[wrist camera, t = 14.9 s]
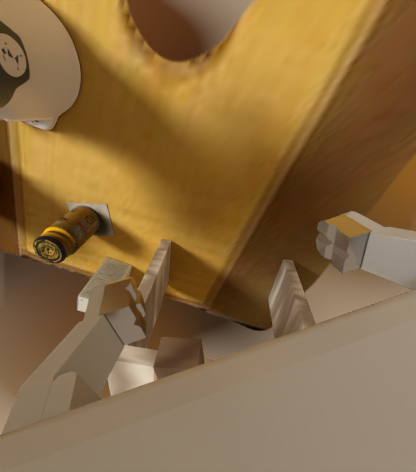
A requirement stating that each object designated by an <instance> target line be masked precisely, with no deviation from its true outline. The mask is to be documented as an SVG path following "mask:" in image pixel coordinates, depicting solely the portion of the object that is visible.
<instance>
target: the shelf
mask: <svg viewBox="0 0 416 472" xmlns="http://www.w3.org/2000/svg"><path fill="white" fill-rule="evenodd" d="M170 254H171V240H165V239H162V240H161V242H160V244H159V246H158V248H157V250H156V252H155V254H154V256H153V259H152V261H151V263H150V265H149V267H148V269H147V271H146V273H145V275H144V277H143V279H142V281H141V283H140V285H139V287H138V289H137V290H139V291H141V294H142V296H143V299H144V303H145V309H146V314H145V316H144V317H143V318H144V320H145V322H146V338H144V339H141V340H138V341H135V342H132V343H130V344H127V345H124V348H123V350H122V352H121V354H120V356H119V358H118V360H117V362H116V363H115V365H114V367H113V369H112V371H111V373H110V375H109V377H108V383H109V388H110V393H111V396H113V395H116V394H119V393H121V392H124V391H127V390H130V389H133V388H136V387H138V386H141V385H144V384H147V383H150V382H153V381H156V380H157V377H156V374H155V371H154V368H153V366H154V362H155V359H156V355H157V352H158V350H152V349H146V348H147V345H148V342H149V339H150V336H151V333H152V330H153V327H154V324H155V321H156V318H157V315H158V313H159V310H160V307H161V304H162V301H163V298H164V295H165V292H166V289H167V286H168V283H169V271H170ZM268 301H269V307H270V313H271V319H272V325H273V330H274V336H275V339H276V338H278V337H281V336H284V335H287V334H290V333H293V332H296V331H298V330H301V329H304V328H307V327H310V326H313V325H316V324H315V322H314V319H313V316H312V313H311V310H310V308H309V305H308V302H307V299H306V296H305V293H304V291H303V288H302V285H301V282H300V279H299V276H298V274H297V271H296V268H295V265H294V262H293V260H287V259H283V261H282V264H281V266H280V269H279V271H278V274H277V277H276V279H275V282H274V284H273V287H272V289H271V292H270V295H269V297H268ZM210 361H213V360H211V359H205V358H204V362H205V363H207V362H210Z"/></svg>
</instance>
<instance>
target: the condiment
mask: <svg viewBox="0 0 416 472" xmlns="http://www.w3.org/2000/svg"><path fill="white" fill-rule="evenodd" d="M66 205H67V208H68V210H69V212H68V213H67V214H66V215H64V216H63V217H62V218H60V219H59V220H57V221H56V222H55V223H53V224H52V225H50V226H49V227H48V228H46V229H45V231H44V232H43V234H42V235H41V236H40V237H38V238H37V239H36V240H35V241H34V243H33V247H34V250H35V252H36V254H37V255H38V256H39V257H40V258H42V259H43V260H45V261H47V262H50V263H60V262H62V261H64V260H65V258H66V257H68V256H69V255H72V254H74V253H75V252H76V251H77V250H78V249H79V248H80V247H81V246H82V245H83V244H84V243H85V242H86V241H87V240H88V239H89V238H90V237H91V236H92V235H108V236H114V233H113V228H112V224H111V220H110V216H109V212H108V209H107V205H106V204H89V203H66ZM99 213H100V214H99ZM99 229H100V230H99Z"/></svg>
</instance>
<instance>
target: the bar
mask: <svg viewBox="0 0 416 472" xmlns="http://www.w3.org/2000/svg"><path fill="white" fill-rule="evenodd" d="M204 363H205V362H204V355H203V348H202V340H201V339H196V338H171V337H162V338H161V342H160V345H159V349H158V352H157V355H156V359H155V362H154V366H153V368H154V371H155V374H156V377H157V380H158V379H161V378H164V377H167V376H170V375H173V374H176V373H178V372H181V371H184V370H187V369H190V368H193V367H196V366H198V365H201V364H204Z"/></svg>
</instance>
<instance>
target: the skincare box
mask: <svg viewBox="0 0 416 472" xmlns="http://www.w3.org/2000/svg"><path fill="white" fill-rule="evenodd" d="M131 269H132V265H129V264H126V263H123V262H120V261H117V260H114V259H111V258H106V259H105V260H104V262H103V263H102V265H101V266H100V267H99V269H98V270H97V271H96V273H95V274H94V275H93V277H92V278H91V279H90V281H89V282H88V283H87V285H86V286H85V287H84V289H83V290H82V291H81V293H80V294H79V296H78V301H77V310H79V311H83V312H86V308H87V304H88V300H89V297H90V293H91V289H92V288H93V287H95V286H99V285H102V284H107V283H109V282H113V281H117V280H120V279H124V278H128V277H129V276H130V273H131Z"/></svg>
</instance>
